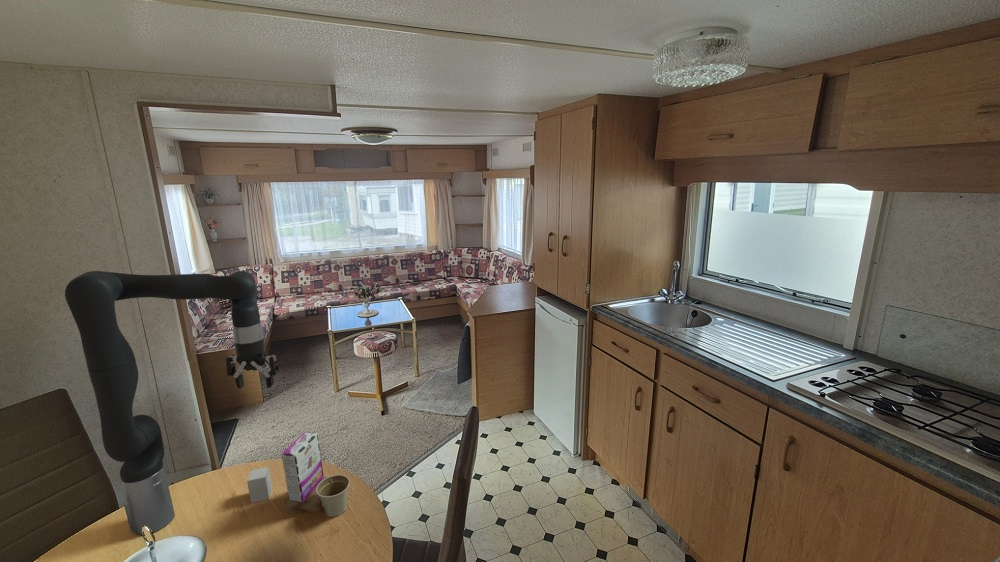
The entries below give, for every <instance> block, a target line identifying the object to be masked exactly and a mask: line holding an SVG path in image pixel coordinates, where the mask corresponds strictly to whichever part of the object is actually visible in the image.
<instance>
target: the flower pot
mask: <svg viewBox="0 0 1000 562" xmlns="http://www.w3.org/2000/svg"><path fill="white" fill-rule="evenodd" d="M326 477H327V478H325V479H324V480H322V481H321V482H320V483H319V484H318V486H317V488H316V493H317V494H318V496H319V497H320V498H321V501H322V504H323V506H322V508H323V509H324V512H325V515H326V516H328V517H331V518H336V517H338V516H341V515H342V514H343V513H344V512H345V511H346V510H347V508H348V492H349V491H348V490H349V486H350V484H351V479H350V478H349V476H347V475H345V474H334V475H330V476H326Z"/></svg>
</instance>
